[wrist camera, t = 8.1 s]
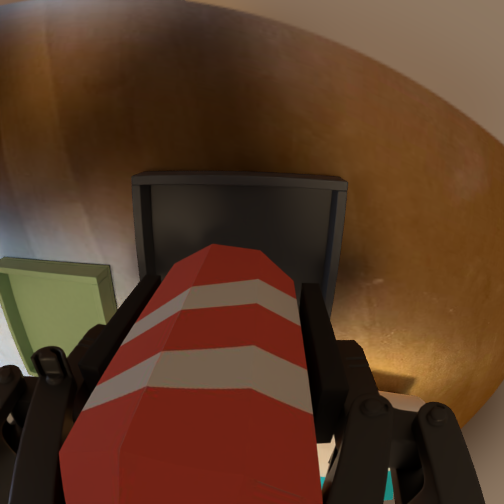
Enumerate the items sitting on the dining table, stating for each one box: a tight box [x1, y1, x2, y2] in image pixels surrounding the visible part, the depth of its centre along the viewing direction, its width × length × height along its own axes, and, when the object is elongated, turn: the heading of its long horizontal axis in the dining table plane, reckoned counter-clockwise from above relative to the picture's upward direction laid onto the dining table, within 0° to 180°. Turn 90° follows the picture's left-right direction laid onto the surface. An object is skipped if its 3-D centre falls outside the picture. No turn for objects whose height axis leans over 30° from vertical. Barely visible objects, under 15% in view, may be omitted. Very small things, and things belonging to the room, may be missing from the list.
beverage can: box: [59, 244, 323, 504], centre depth 9 cm, size 6×6×12 cm
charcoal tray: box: [131, 171, 348, 318], centre depth 18 cm, size 11×11×2 cm
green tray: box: [0, 257, 117, 377], centre depth 20 cm, size 11×11×2 cm
